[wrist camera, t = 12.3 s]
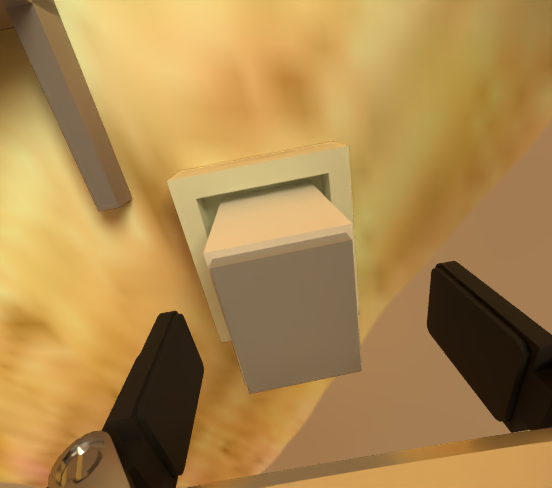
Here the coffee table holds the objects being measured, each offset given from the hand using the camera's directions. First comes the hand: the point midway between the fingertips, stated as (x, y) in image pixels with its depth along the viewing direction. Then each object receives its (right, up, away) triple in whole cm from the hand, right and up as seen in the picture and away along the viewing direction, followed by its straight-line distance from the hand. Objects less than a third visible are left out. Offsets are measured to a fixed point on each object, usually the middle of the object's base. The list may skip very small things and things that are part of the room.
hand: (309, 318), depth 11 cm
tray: (-1, +3, +9) cm, 10 cm away
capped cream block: (-1, +3, +8) cm, 9 cm away
